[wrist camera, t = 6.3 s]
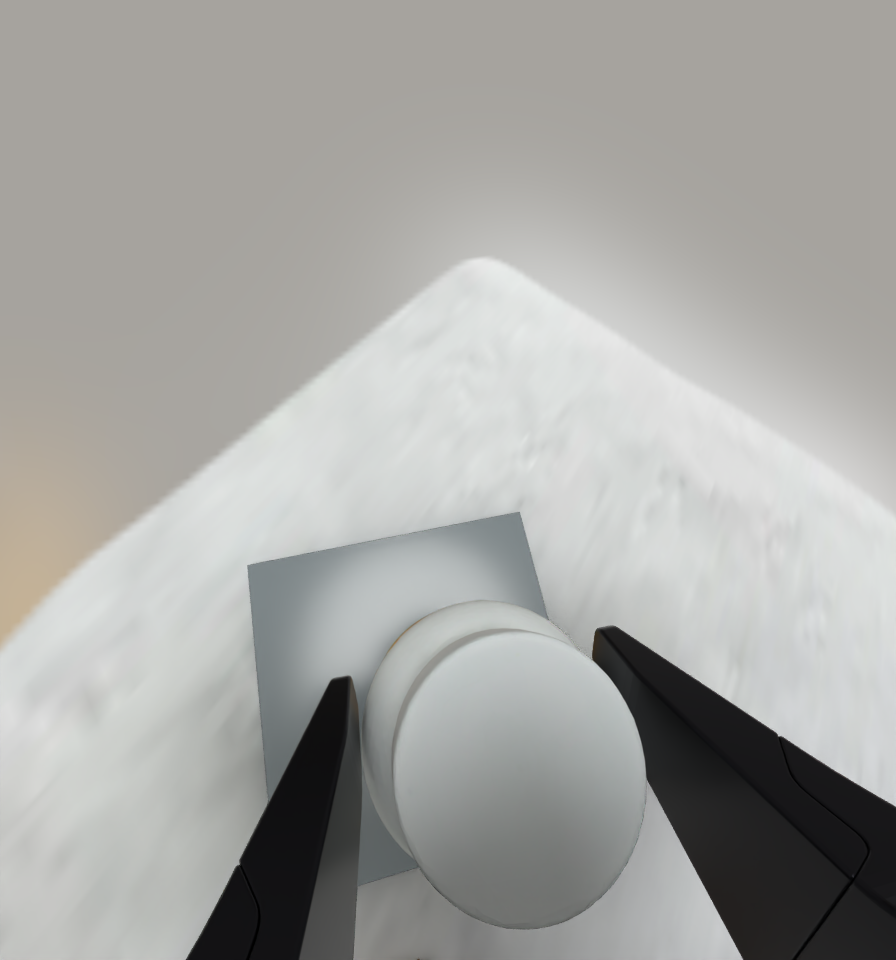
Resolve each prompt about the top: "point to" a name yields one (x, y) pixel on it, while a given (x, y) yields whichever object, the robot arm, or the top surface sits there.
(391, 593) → the coaster
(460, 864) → the supplement bottle
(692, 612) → the top surface
